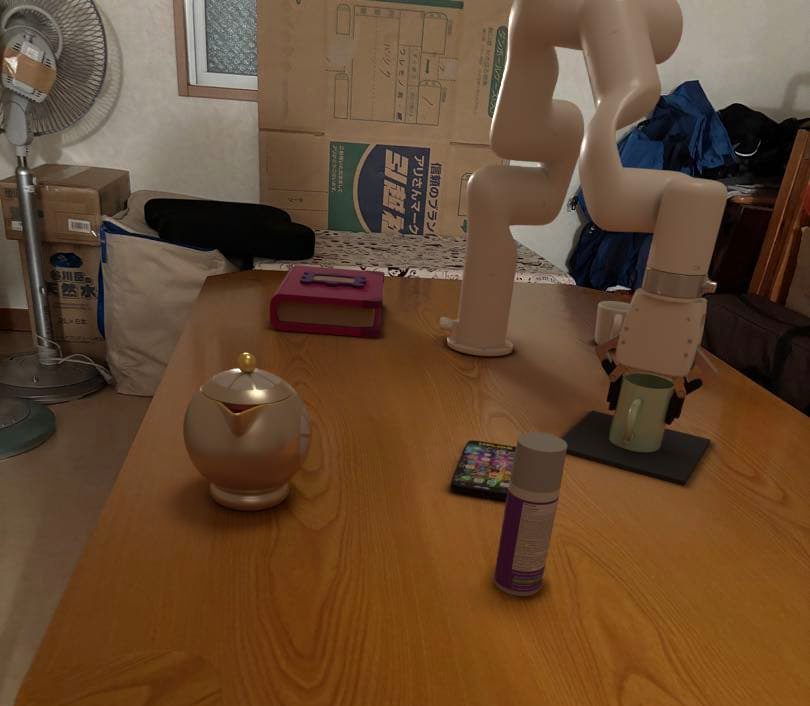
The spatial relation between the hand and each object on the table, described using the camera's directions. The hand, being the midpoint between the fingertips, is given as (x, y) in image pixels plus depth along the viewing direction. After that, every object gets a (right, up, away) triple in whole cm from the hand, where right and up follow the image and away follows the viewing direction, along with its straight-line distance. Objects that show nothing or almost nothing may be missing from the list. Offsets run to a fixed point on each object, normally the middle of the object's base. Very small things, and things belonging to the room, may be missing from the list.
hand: (641, 414), depth 108 cm
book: (-48, +28, +52) cm, 76 cm away
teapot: (-51, -12, -19) cm, 55 cm away
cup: (+8, +21, +48) cm, 53 cm away
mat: (0, -4, +2) cm, 5 cm away
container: (-22, -22, -32) cm, 44 cm away
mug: (-1, -4, +1) cm, 4 cm away
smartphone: (-22, -9, -10) cm, 26 cm away
